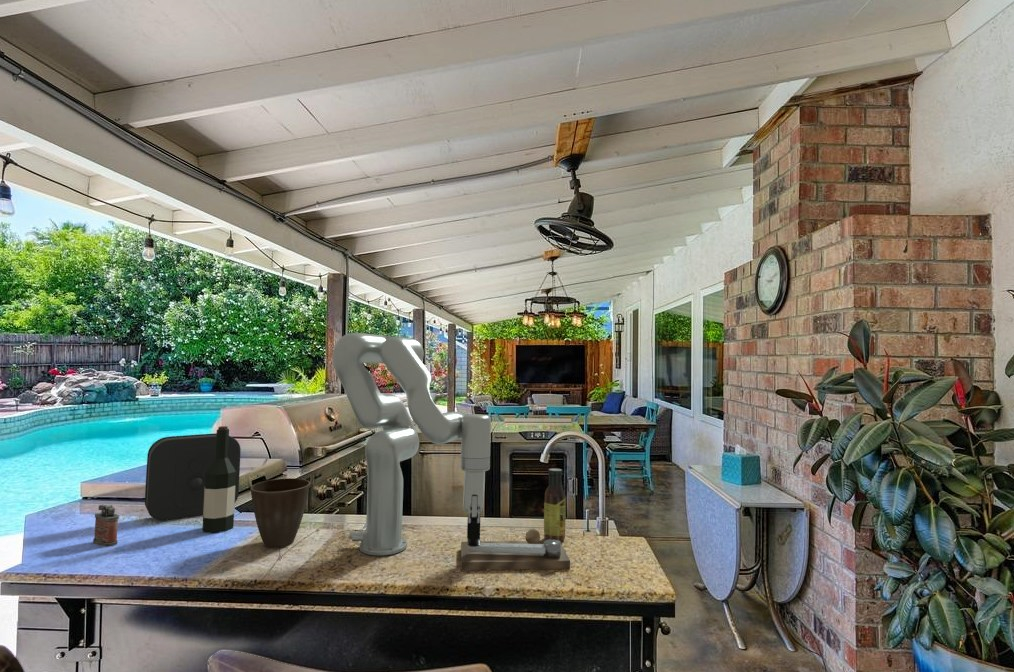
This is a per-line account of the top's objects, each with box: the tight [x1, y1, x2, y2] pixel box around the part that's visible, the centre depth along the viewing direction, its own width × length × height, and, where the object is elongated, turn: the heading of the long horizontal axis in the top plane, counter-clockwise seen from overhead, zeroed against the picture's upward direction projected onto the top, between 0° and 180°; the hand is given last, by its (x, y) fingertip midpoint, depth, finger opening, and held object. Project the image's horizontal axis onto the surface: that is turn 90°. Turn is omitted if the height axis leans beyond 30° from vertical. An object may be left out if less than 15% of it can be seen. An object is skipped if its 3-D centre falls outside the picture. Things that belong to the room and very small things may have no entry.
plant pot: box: [250, 477, 311, 549], centre depth 137 cm, size 15×15×16 cm
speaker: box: [144, 432, 242, 522], centre depth 161 cm, size 25×9×25 cm, turn 131°
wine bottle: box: [201, 425, 236, 534], centre depth 148 cm, size 8×8×30 cm
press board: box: [460, 528, 571, 572], centre depth 129 cm, size 27×14×6 cm, turn 95°
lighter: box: [92, 504, 120, 548], centre depth 135 cm, size 8×3×10 cm, turn 65°
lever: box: [466, 513, 562, 558], centre depth 126 cm, size 24×4×10 cm, turn 90°
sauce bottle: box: [543, 467, 567, 542], centre depth 145 cm, size 7×6×20 cm
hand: (473, 535), depth 126 cm, fingers closed on lever, 3 cm apart
